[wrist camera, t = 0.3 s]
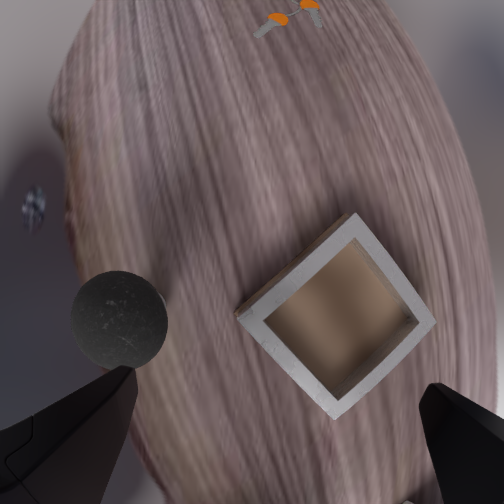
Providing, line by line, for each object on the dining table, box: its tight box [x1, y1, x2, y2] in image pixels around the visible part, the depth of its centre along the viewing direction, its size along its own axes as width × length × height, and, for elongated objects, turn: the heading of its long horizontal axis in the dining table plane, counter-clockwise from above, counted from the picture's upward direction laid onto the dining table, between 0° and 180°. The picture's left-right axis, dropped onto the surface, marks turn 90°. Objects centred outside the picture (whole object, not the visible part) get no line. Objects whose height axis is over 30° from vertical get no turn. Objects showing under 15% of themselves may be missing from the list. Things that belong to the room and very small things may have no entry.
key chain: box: [253, 0, 323, 38], centre depth 24 cm, size 13×7×1 cm, turn 175°
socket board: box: [234, 213, 407, 391], centre depth 23 cm, size 11×11×1 cm
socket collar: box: [237, 212, 436, 420], centre depth 21 cm, size 11×11×2 cm
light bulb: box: [71, 271, 168, 370], centre depth 18 cm, size 6×6×10 cm
